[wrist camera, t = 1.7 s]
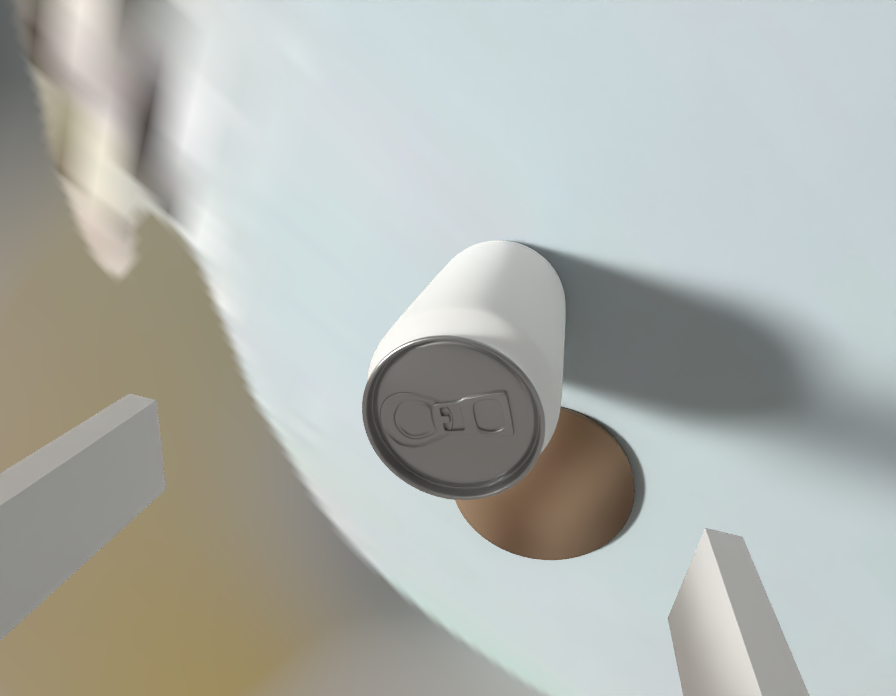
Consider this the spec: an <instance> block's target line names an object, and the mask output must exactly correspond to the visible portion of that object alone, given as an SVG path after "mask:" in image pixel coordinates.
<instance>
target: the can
mask: <svg viewBox="0 0 896 696" xmlns="http://www.w3.org/2000/svg"><path fill="white" fill-rule="evenodd" d="M565 318H566V303H565V294H564V290H563V286H562V283H561V281H560V279H559V276H558V275H557V273H556V271H555V270H554V268H553V267H552V266H551V264H550V263H549V262H548V261H547V260H546V259H545V258H544V257H543V256H541V255H540V254H539V253H537V252H536V251H534V250H533V249H531V248H529V247H527V246H525V245H522V244H519V243H516V242H511V241H504V240H493V241H486V242H481V243H478V244H475V245H473V246H471V247H468V248H467V249H465V250H463V251H462V252H460V253H459V254H458V255H456V256H455V257H454V258H453V259H452V260H451V261H450V262H449V263H448V264H447V265H446V266H445V267H444V268H443V269H442V270H441V272H440V273H439V274H438V275H437V276H436V277H435V278H434V279H433V280H432V282H431V283H430V284H429V285H428V286H427V287H426V288H425V289H424V291H423V292H422V293H421V294H420V295H419V296H418V297H417V298H416V300H415V301H414V302H413V303H412V304H411V305H410V306H409V308H408V309H407V310H406V311H405V312H404V313H403V314H402V316H401V317H400V318H399V319H398V320H397V321H396V323H395V324H394V325H393V326H392V327H391V328H390V330H389V331H388V332H387V334H386V335H385V336H384V338H383V339H382V340H381V342H380V344H379V345H378V347H377V349H376V351H375V353H374V355H373V358H372V360H371V363H370V367H369V372H368V379H367V384H366V387H365V391H364V395H363V402H362V414H363V422H364V426H365V430H366V433H367V436H368V439H369V441H370V443H371V445H372V447H373V449H374V450H375V452H376V454H377V455H378V456H379V458H380V459H381V460H382V462H383V463H384V464H385V465H386V466H387V467H388V468H389V469H390V470H391V471H392V472H393V473H394V474H395V475H396V476H398V477H399V478H400V479H402V480H403V481H405V482H406V483H408V484H409V485H411V486H413V487H415V488H417V489H419V490H421V491H423V492H425V493H428V494H431V495H434V496H438V497H442V498H447V499H454V500H475V499H482V498H487V497H490V496H494V495H497V494H499V493H501V492H504V491H506V490H508V489H509V488H511V487H513V486H514V485H516V484H517V483H518V482H520V481H521V480H522V479H523V478H524V477H525V476H526V475H527V474H528V473H529V472H530V470H531V469H532V468H533V466H534V465H535V463H536V461H537V460H538V458H539V455H540V454H541V452H542V451H543V450H544V449H545V447H546V446H547V444H548V443H549V441H550V439H551V438H552V436H553V433H554V431H555V428H556V425H557V422H558V418H559V414H560V407H561V398H562V384H563V365H564V344H565Z"/></svg>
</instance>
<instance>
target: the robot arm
mask: <svg viewBox="0 0 896 696" xmlns="http://www.w3.org/2000/svg"><path fill="white" fill-rule="evenodd" d="M165 490H166V486H165V477H164V467H163V458H162V448H161V439H160V429H159V420H158V410H157V401H156V400H153V399H149V398H144V397H140V396H136V395H132V394H128V395H126V396H125V397H123V398H121V399H120V400H118V401H116V402H115V403H113V404H112V405H110V406H108V407H107V408H105V409H104V410H102V411H100V412H99V413H97V414H95V415H94V416H92V417H91V418H89V419H87V420H86V421H84V422H83V423H81V424H79V425H78V426H76V427H74V428H73V429H71V430H70V431H68V432H66V433H65V434H63V435H61V436H60V437H58V438H57V439H55V440H53V441H52V442H50V443H49V444H47V445H45V446H44V447H42V448H41V449H39V450H37V451H36V452H34V453H33V454H31V455H29V456H28V457H26V458H24V459H23V460H21V461H19V462H18V463H16V464H15V465H13V466H11V467H10V468H8V469H7V470H5V471H3V472H2V473H0V640H1V639H2V638H3V637H5V636H6V635H7V634H8V633H9V632H10V631H11V630H12V629H13V628H14V627H15V626H17V625H18V624H19V623H20V622H21V621H22V620H23V619H24V618H25V617H27V616H28V615H29V614H30V613H31V612H32V611H33V610H34V609H35V608H36V607H37V606H39V605H40V604H41V603H42V602H43V601H44V600H45V599H46V598H47V597H48V596H50V595H51V594H52V593H53V592H54V591H55V590H56V589H57V588H58V587H59V586H60V585H62V584H63V583H64V582H65V581H66V580H67V579H68V578H69V577H70V576H71V575H73V573H75V572H76V571H77V570H78V569H79V568H80V567H81V566H82V565H83V564H85V562H87V561H88V560H89V559H90V558H91V557H92V556H93V555H94V554H95V553H97V552H98V550H100V549H101V548H102V547H103V546H104V545H105V544H106V543H108V542H109V541H110V540H111V539H112V538H113V537H114V536H115V535H116V534H117V533H118V532H120V531H121V530H122V529H123V528H124V527H125V526H126V525H127V524H128V523H129V522H130V521H131V520H133V519H134V518H135V517H136V516H137V515H138V514H139V513H140V512H142V511H143V510H144V509H145V508H146V507H147V506H148V505H149V504H150V503H151V502H152V501H153V500H155V499H156V498H157V497H158V496H159V495H160V494H161V493H162V492H163V491H165ZM668 621H669V626H670V631H671V636H672V641H673V646H674V651H675V656H676V661H677V666H678V671H679V676H680V681H681V686H682V691H683V696H809V694H808V691H807V689H806V686H805V684H804V682H803V679H802V677H801V675H800V672H799V670H798V667H797V665H796V663H795V660H794V658H793V656H792V653H791V651H790V648H789V646H788V644H787V641H786V639H785V637H784V634H783V632H782V629H781V627H780V625H779V622H778V620H777V618H776V615H775V613H774V610H773V608H772V606H771V603H770V601H769V599H768V596H767V594H766V591H765V589H764V587H763V584H762V582H761V580H760V577H759V575H758V573H757V570H756V568H755V565H754V563H753V561H752V558H751V556H750V554H749V551H748V549H747V546H746V544H745V542H744V539H743V537H741V536H737V535H733V534H728V533H724V532H720V531H716V530H711V529H707V528H705V530H704V532H703V535H702V537H701V540H700V542H699V544H698V547H697V549H696V552H695V554H694V556H693V559H692V561H691V564H690V566H689V569H688V571H687V573H686V576H685V578H684V581H683V583H682V585H681V588H680V590H679V593H678V595H677V597H676V600H675V602H674V605H673V607H672V609H671V612H670V614H669V617H668Z"/></svg>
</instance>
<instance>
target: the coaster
mask: <svg viewBox="0 0 896 696" xmlns="http://www.w3.org/2000/svg"><path fill="white" fill-rule="evenodd" d="M634 492H635V490H634V480H633V474H632V470H631V466H630V463H629V461H628V458H627V456H626V454H625V452H624V451H623V449H622V447H621V446H620V444H619V443H618V442H617V441H616V439H615V438H614V437H613V436H612V435H611V434H610V433H609V432H608V431H607V430H606V429H605V428H604V427H602V426H601V425H599V424H598V423H597V422H595V421H594V420H592V419H590V418H588V417H587V416H585V415H583V414H581V413H578V412H576V411H573V410H570V409H567V408H563V407H560V414H559V418H558V422H557V425H556V428H555V431H554V433H553V436H552V438H551V439H550V441H549V443H548V444H547V446H546V447H545V449H544V450H543V451H542V452H541V454H540V455H539V458H538V460H537V461H536V463H535V465H534V466H533V468H532V469H531V470H530V472H529V473H528V474H527V475H526V476H525V477H524V478H523V479H522V480H521V481H520V482H518V483H517V484H516V485H514V486H513V487H511V488H509V489H508V490H506V491H504V492H501V493H499V494H497V495H494V496H490V497H487V498H482V499H475V500H455V501H456V503H457V506H458V508H459V509H460V511H461V513H462V515H463V516H464V518H465V519H466V520H467V522H468V523H469V524H470V525H471V526H472V527H473V528H474V530H475V531H477V532H478V533H479V534H480V535H481V536H482V537H484V538H485V539H486V540H488V541H489V542H491V543H492V544H494V545H496V546H498V547H500V548H501V549H504V550H506V551H508V552H511V553H513V554H516V555H520V556H523V557H528V558H533V559H541V560H562V559H569V558H574V557H579V556H582V555H585V554H588V553H590V552H592V551H594V550H597V549H599V548H600V547H602V546H603V545H605V544H607V543H608V542H609V541H610V540H611V539H613V538H614V537H615V536H616V535H617V534H618V533H619V531H620V530H621V529H622V528H623V526H624V525H625V523H626V522H627V520H628V518H629V515H630V513H631V511H632V507H633V503H634Z"/></svg>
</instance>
